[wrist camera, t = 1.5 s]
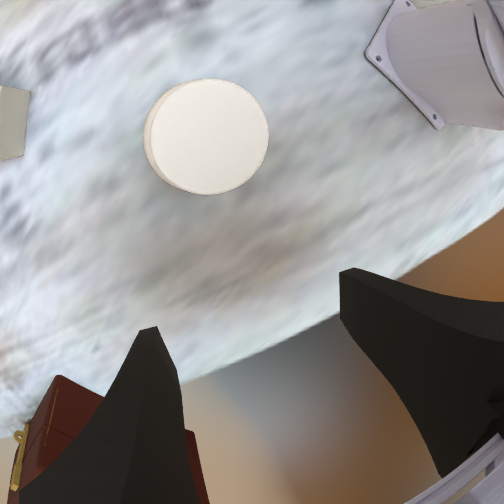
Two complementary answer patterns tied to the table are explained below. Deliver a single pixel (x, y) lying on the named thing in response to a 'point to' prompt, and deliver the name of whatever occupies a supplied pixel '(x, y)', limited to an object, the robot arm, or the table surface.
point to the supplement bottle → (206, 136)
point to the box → (69, 435)
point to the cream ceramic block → (13, 121)
